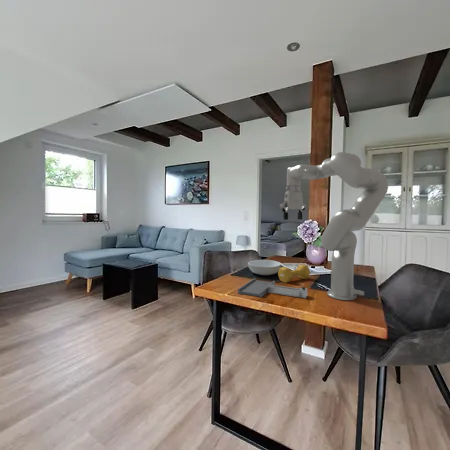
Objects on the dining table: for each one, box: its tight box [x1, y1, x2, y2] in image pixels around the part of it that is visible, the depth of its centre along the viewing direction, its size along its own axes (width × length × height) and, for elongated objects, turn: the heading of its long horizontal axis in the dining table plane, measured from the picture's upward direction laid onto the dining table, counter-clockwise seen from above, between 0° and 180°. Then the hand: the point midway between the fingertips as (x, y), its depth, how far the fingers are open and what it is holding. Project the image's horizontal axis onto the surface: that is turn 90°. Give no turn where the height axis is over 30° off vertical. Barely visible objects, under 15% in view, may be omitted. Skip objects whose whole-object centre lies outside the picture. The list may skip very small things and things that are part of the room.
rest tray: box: [237, 277, 276, 298], centre depth 131 cm, size 12×22×2 cm, turn 153°
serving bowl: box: [247, 259, 282, 276], centre depth 163 cm, size 21×21×7 cm
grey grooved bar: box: [267, 284, 308, 299], centre depth 123 cm, size 18×4×4 cm, turn 63°
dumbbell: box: [277, 263, 311, 284], centre depth 148 cm, size 19×9×8 cm, turn 119°
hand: (292, 219), depth 145 cm, fingers open, 9 cm apart
